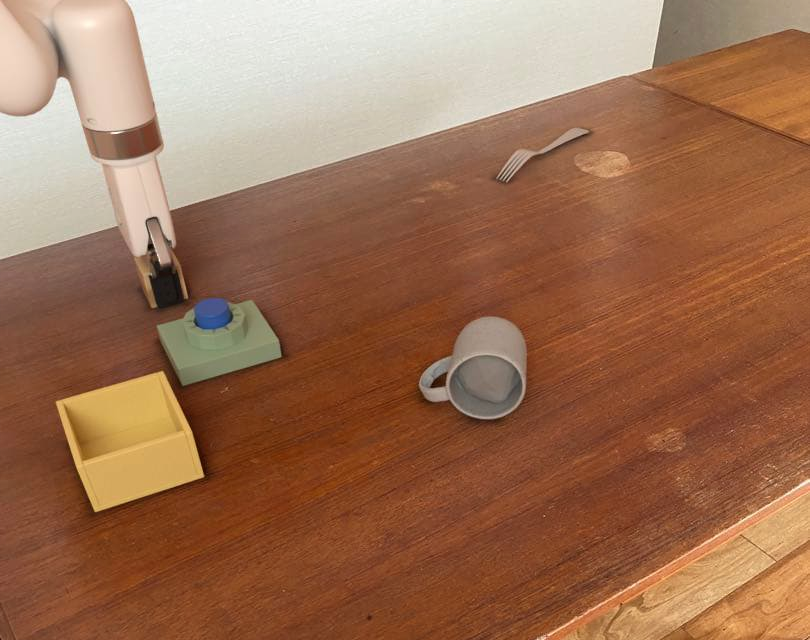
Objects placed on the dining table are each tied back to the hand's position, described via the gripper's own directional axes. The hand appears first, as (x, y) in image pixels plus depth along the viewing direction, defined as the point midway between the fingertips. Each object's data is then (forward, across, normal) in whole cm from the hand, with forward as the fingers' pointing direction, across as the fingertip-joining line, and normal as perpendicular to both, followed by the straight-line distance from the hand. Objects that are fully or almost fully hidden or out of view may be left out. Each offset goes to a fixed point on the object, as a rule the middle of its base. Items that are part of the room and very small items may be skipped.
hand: (164, 292), depth 102 cm
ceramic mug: (+1, +34, +23) cm, 41 cm away
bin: (0, +28, -10) cm, 30 cm away
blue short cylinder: (-3, +14, +2) cm, 15 cm away
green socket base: (0, +14, +2) cm, 14 cm away
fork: (+1, -11, +59) cm, 60 cm away
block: (0, 0, 0) cm, 0 cm away
